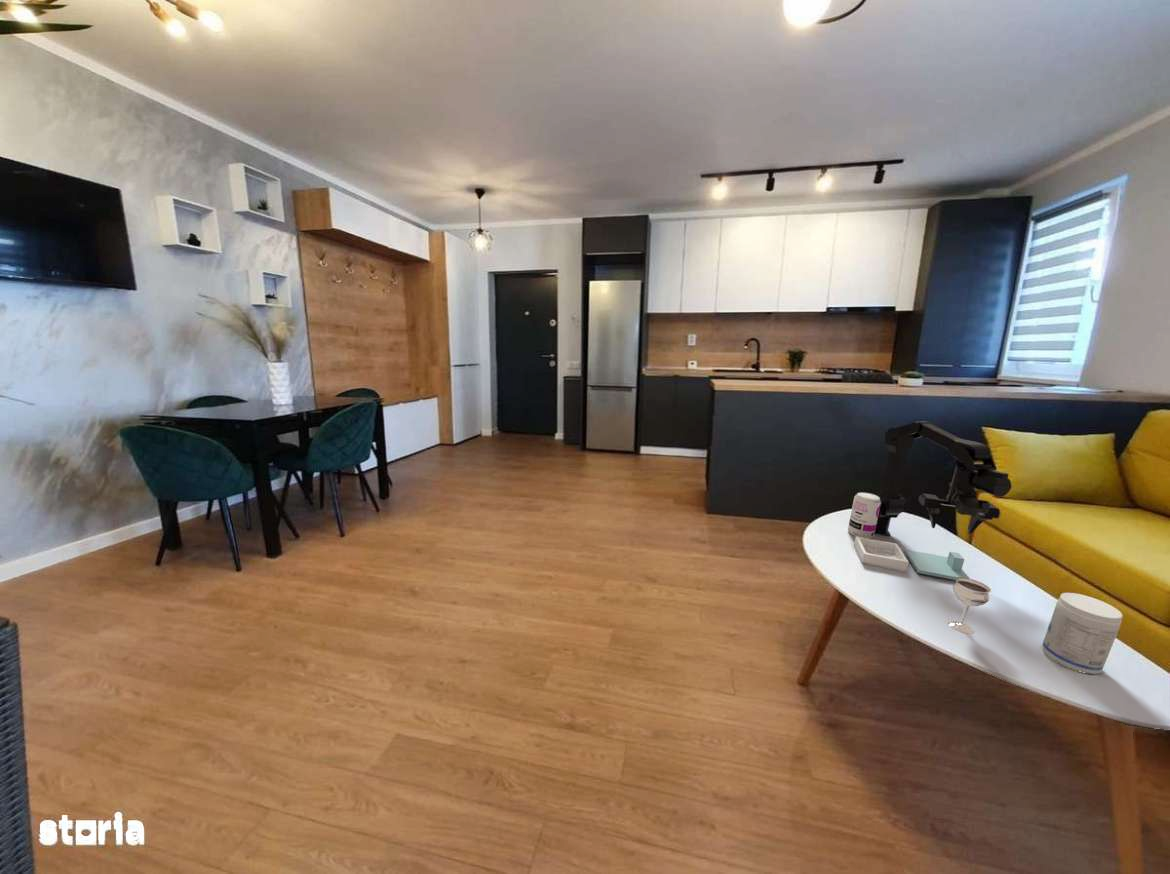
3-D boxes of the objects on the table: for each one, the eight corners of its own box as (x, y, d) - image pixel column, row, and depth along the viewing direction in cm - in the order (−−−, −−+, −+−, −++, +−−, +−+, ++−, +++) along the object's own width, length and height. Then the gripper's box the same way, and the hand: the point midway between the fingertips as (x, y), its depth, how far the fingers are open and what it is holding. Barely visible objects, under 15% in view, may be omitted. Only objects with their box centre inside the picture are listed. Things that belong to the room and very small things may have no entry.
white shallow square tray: (853, 545, 151) (855, 536, 150) (894, 553, 146) (896, 543, 146) (861, 563, 139) (864, 553, 138) (906, 572, 135) (908, 562, 134)
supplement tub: (1043, 639, 106) (1061, 586, 103) (1102, 663, 99) (1124, 606, 96) (1038, 657, 100) (1057, 601, 97) (1100, 683, 93) (1124, 624, 90)
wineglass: (937, 617, 113) (948, 576, 110) (963, 618, 113) (975, 577, 110) (957, 635, 107) (970, 592, 104) (986, 636, 106) (999, 593, 104)
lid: (903, 554, 146) (907, 538, 144) (951, 562, 141) (955, 546, 140) (917, 575, 133) (921, 558, 132) (970, 585, 129) (975, 567, 127)
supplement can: (873, 533, 161) (881, 495, 157) (873, 541, 154) (881, 502, 150) (848, 527, 165) (855, 490, 161) (846, 535, 158) (854, 496, 155)
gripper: (936, 487, 127) (923, 535, 132) (1017, 498, 121) (1001, 549, 125) (923, 475, 138) (912, 520, 142) (997, 485, 131) (983, 532, 135)
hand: (950, 530), depth 136 cm, fingers open, 9 cm apart
